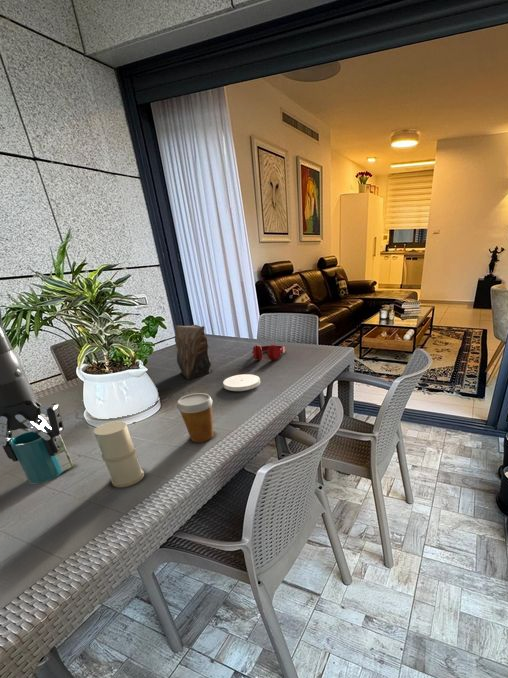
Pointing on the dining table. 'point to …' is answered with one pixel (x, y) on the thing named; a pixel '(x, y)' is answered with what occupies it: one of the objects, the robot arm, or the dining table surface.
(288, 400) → the dining table surface
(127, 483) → the cup stack
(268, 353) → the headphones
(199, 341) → the brown stone chunk
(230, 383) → the plastic lid
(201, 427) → the disposable coffee cup
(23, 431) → the syrup box
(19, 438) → the teal cup
